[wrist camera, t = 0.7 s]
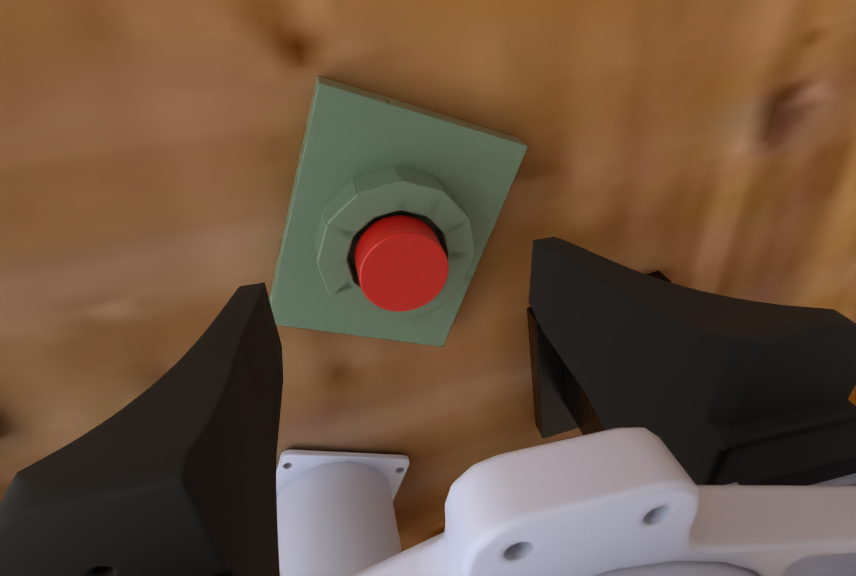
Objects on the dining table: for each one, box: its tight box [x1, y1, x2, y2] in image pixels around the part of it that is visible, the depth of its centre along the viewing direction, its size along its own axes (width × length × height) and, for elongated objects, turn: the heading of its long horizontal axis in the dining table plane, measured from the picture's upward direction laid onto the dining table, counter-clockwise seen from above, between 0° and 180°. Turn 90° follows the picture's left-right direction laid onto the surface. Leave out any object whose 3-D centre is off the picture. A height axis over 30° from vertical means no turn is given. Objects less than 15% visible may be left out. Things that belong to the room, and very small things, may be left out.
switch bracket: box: [527, 271, 671, 438], centre depth 28 cm, size 10×8×10 cm
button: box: [355, 215, 449, 312], centre depth 21 cm, size 4×4×2 cm
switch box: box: [269, 76, 528, 347], centre depth 22 cm, size 11×9×3 cm
